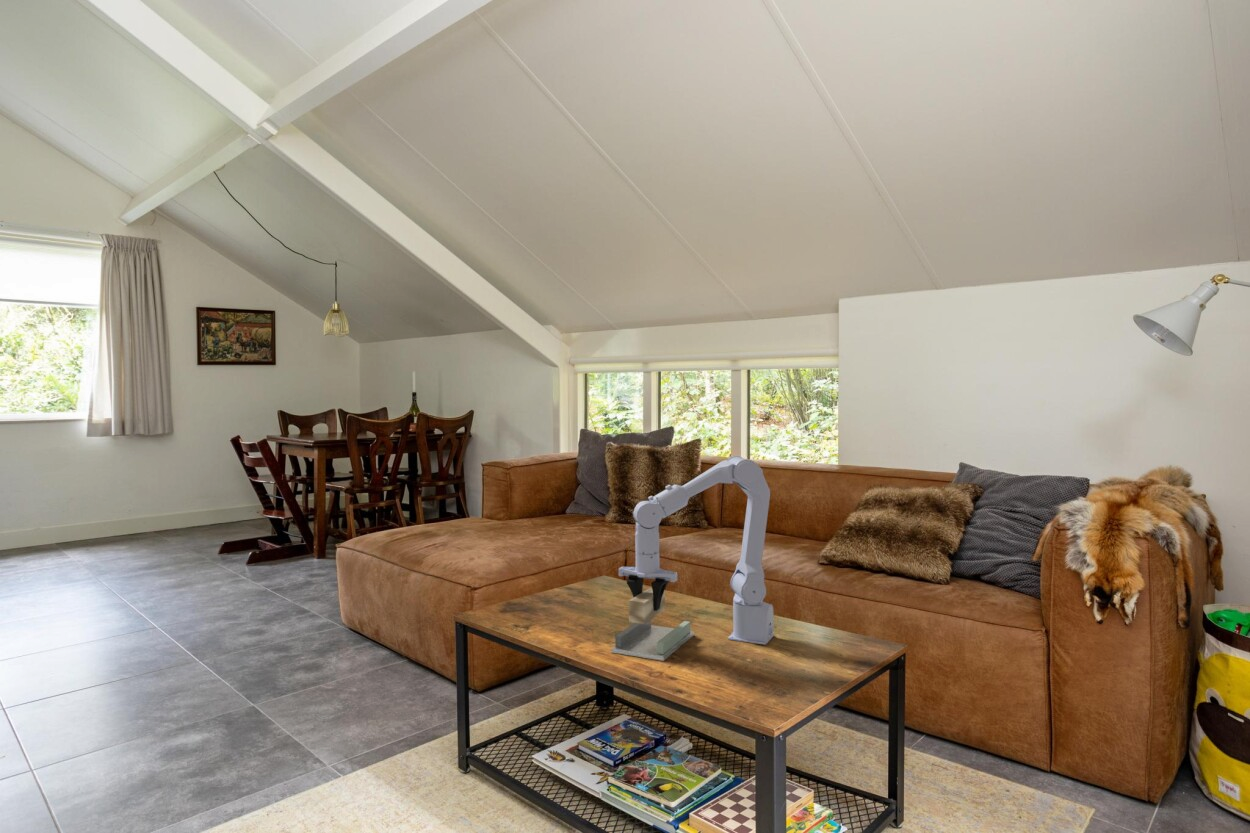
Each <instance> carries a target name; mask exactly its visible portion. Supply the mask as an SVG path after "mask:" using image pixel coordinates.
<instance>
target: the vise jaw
mask: <svg viewBox="0 0 1250 833" xmlns="http://www.w3.org/2000/svg"><path fill="white" fill-rule="evenodd" d="M690 631H691V621H686V620H684V621H682V622H681V623H680V624H679V625H677V626H676V627H675V629H673V630H672V631H671V632H670V633H668V634H667V635H666V636H665V637H663V638H662V639H661V640H659V641H658V642H657V653H658V654H664V653H665V652H667V651H668V650H669V649H670V648H671V647H673V646H674V645H675V644H676V643H677V642H679V641H680V640H681V639H682V638H683V637H685V636H686V635H687V634H688V633H689V632H690Z"/></svg>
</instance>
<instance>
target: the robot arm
mask: <svg viewBox="0 0 1250 833" xmlns="http://www.w3.org/2000/svg"><path fill="white" fill-rule="evenodd" d="M717 484H736V485H737V486H739V488H740V489H741V491H743V493H744V494H746V497H747V503H746V508H745V509H746V510H745V518H744V524H743V525H744V526H743V534H742V543H741V549H740V557H739V561H738V562H737V564H736V565H735V571H734V573H733V574H732V576H731V578H730V588H731V590H732V591H733V592H734V596H733V598H732V602H733V604H732V606H733V607H732V608H733V609H732V610H733V612H732V616H733V621H732V622H733V623H732V624H733V626H732V628H733V630H732V631H733V632H731V634H730V635H729V636H728V637H727V639H728V640H730V641H735V642H736V641H737V642H744V643H752V644H758V645H767V644H768V643H769V642H770V641H771V639H772V638H773V637H774V636H775V633H774V606H773V604H772V603H769V602H768V603H766V602H765V601H764V599H765V597H766V595H767V587H766V584H765V572H764V568H763V565H762V562H763V556H764V546H765V540H766V531H767V522H768V515H769V508H770V501H771V500H770V498H771V490H770V487H769V485H768V483H767V481H766V478H765V476H764V470H763V468H762V467H760V466H759V465H758V464H757V463H756V462H755V461H754V460H752V459H748V458H745V457H742V456H739V455H733V456H730V457H729V458H728V459H727V460H724V459H723V460H722V461H719V463H717V464H715V465H713V466H712V467H710V468H709V469H707V470H706V471H704V472H703V473H701V474H699V475H698V476H695V477H694V478H693V479H691V480H690V481H688V482H687V483H685V484H683V485H678V484H673V485H671V484H667V485H665V489H664V490H663V491H660V492H659V493H657V494H655V495H654V496H653V495H650V496H648V497H647V498H648V500H642V501H640V502H638V503H637V504H636V506H635V507H634V508H633V511H632V517H633V519H634V520H635V533H634V534H635V535H634V541H635V542H634V543H635V544H634V545H635V548H634V549H635V566H621V567H619V568H618V577H628V579H626V584H627V586H628V588H629V589H630V592H631V594H632V596H633V597H632V598H634V597H636V596H637V595H639V594H641V593H642V592H643V591H644V590H643V589H644V581H645V580H644V579H648V580H649V579H651V580H654V581H652V582H651V583H650V584H651V585H650V586H651V588H652V590H653V608H654V611H657V610H658V609H660V604H661V599H662V596H663V593H664V590H665V591H666V588H667V586H668V584H669V582H670V583H675V582H677V581H678V572H677V571H676V572H675V571H671V570H666V569H662V568H660V532H659V528H660V527H659V526H660V523H661V521H662V519H665V518H666V517H670V515H672V514H674V513H676V512H678V511H679V510H681V509H683V508H685V507H686V506H687V505H688V502H689V499H690V498H692V497H693V496H695V495H697V494H699V493H701V492H703V491H705V490H707V489H710V488H711V487H713V486H715V485H717Z"/></svg>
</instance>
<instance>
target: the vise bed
mask: <svg viewBox="0 0 1250 833" xmlns="http://www.w3.org/2000/svg"><path fill="white" fill-rule="evenodd" d="M675 628H676V627H675ZM675 628H672V627H668V626H667V627H666V626H659V625H652V619H651V620H650V621H648V622H647V623H646V624H640V623H632V624H631V625H630V626H628V627H626V628H625V629H623V630H622V631H621V632H619V633H618V634H616V635H615V638H614V640H615V642H614V643H615V645H614V646H612V647H611V653H612V654H618V655H619V654H620V655H624V656H625V655H626V656H631V657H637V658H642V659H649V660H655V661H660V662H661V661H662V662H664V661H665V660H666V659H667V658H669V657H670V656H671V655H672V654H674V653H675V652H676V651H677V650H678V649H679V648H680V647H682V646H683V645H684V644H685V643H687V641H689V640H690V639H691V638H692V637H693V636H694V635H695V634H694V630H690V632H689V633H688V634H687V635H686V636H685V637H683V638H682V639H681V640H680V641H679V642H677V643H676V644H675V645H674V646H673V647H671V648H670V649H669V650H668V651H667V652H665V653H664V654H658V653H657V642H658V641H659V640H661V639H662V638H663V637H665V636H666V635H667V634H668V633H670V632H671V631H672V630H673V629H675Z"/></svg>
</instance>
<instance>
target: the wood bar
mask: <svg viewBox="0 0 1250 833" xmlns="http://www.w3.org/2000/svg"><path fill="white" fill-rule="evenodd" d="M665 600H666V589H665V590H664V593H663V596H662V599H661V604H660V609H658V610H657V611H654V608H653V590H652V587H649V588H647V589H645V590H643V591H642V593H641V594H639V595H637V596H636V597H632V598H630V599H629V600H628V622H629V623H632V624H634V623H640V624H646V623H647V622H648V621H650V620H651V621H652V619H654V618H655V617H657V616H659V614H661V613H663V612H664V611H665V610H666V601H665Z"/></svg>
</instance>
